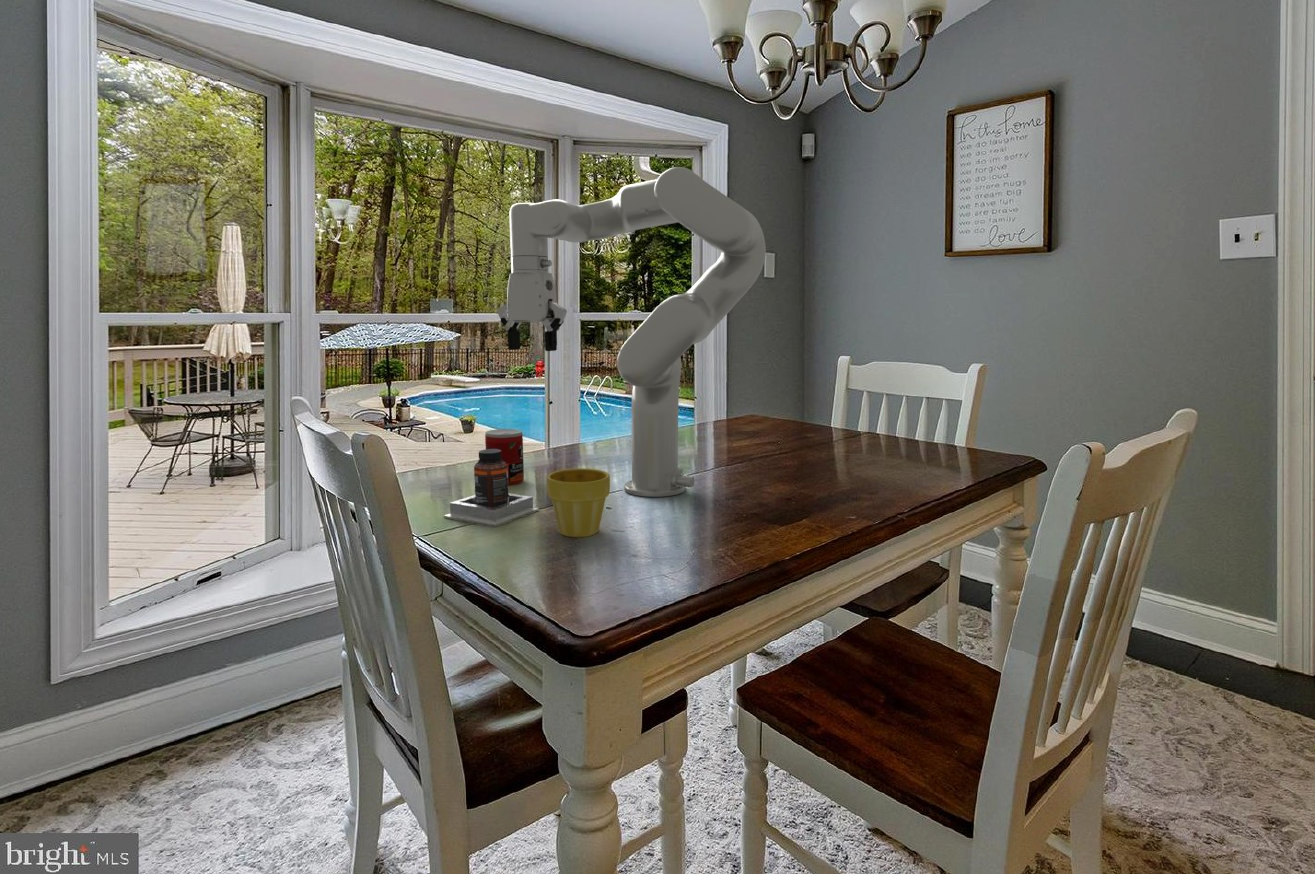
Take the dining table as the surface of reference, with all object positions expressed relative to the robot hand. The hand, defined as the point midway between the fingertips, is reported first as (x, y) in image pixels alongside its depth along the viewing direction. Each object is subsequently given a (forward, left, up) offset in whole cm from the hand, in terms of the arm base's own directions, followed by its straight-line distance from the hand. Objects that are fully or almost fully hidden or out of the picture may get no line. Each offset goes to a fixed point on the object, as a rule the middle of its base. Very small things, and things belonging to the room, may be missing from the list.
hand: (532, 350), depth 154 cm
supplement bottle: (-9, +24, -28) cm, 38 cm away
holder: (-9, +24, -28) cm, 38 cm away
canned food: (+6, +3, -28) cm, 29 cm away
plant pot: (-29, +25, -28) cm, 48 cm away
